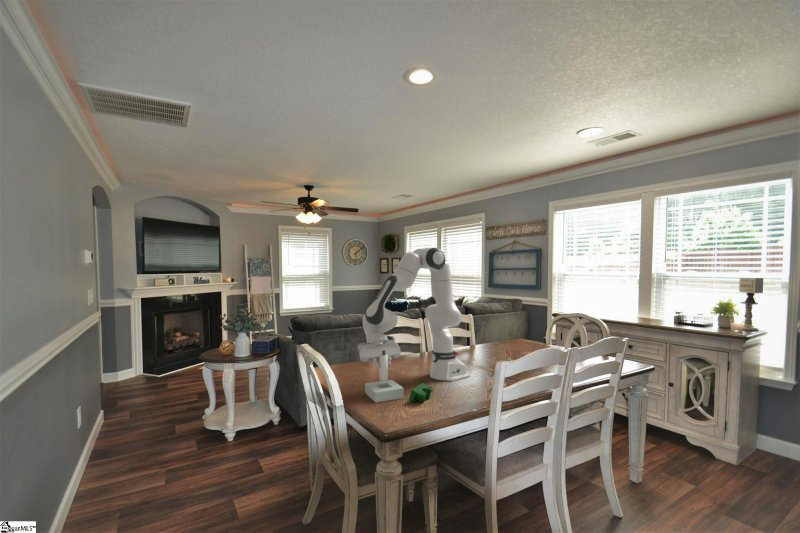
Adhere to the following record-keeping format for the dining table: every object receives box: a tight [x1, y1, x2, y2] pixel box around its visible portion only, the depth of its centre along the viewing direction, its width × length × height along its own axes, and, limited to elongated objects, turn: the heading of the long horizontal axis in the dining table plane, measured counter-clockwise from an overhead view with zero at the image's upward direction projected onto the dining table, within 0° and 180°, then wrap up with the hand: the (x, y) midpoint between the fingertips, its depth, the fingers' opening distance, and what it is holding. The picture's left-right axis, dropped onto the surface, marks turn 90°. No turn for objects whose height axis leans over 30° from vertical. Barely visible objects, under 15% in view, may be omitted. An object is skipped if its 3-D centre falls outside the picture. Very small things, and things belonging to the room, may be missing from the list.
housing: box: [364, 379, 405, 404], centre depth 178 cm, size 14×14×4 cm
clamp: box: [409, 382, 434, 404], centre depth 173 cm, size 12×6×9 cm, turn 144°
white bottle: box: [378, 350, 389, 382], centre depth 178 cm, size 4×4×14 cm
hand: (384, 366), depth 177 cm, fingers closed on white bottle, 4 cm apart
